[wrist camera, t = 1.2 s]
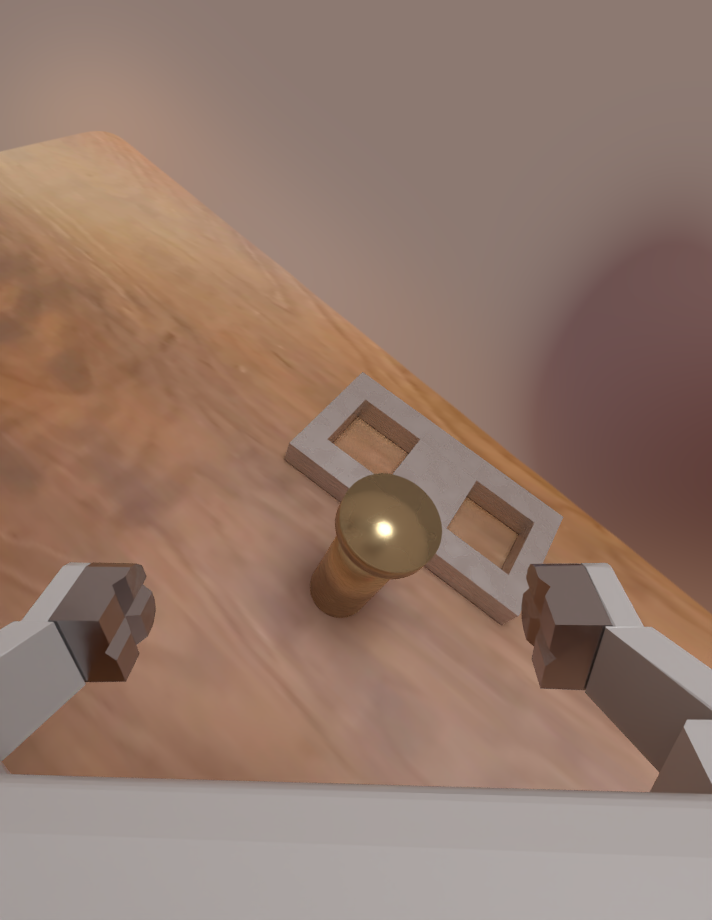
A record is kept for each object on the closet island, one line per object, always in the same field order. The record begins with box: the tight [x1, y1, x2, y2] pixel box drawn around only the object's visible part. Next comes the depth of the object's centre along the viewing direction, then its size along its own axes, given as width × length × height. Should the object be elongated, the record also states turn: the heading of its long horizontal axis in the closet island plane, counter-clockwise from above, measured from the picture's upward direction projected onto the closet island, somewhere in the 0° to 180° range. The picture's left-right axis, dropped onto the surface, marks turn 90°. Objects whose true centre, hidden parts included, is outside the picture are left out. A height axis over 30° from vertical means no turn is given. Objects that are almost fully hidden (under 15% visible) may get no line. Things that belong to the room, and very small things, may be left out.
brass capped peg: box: [310, 473, 442, 618], centre depth 34 cm, size 6×6×12 cm
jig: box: [285, 372, 563, 625], centre depth 44 cm, size 22×11×2 cm, turn 56°
